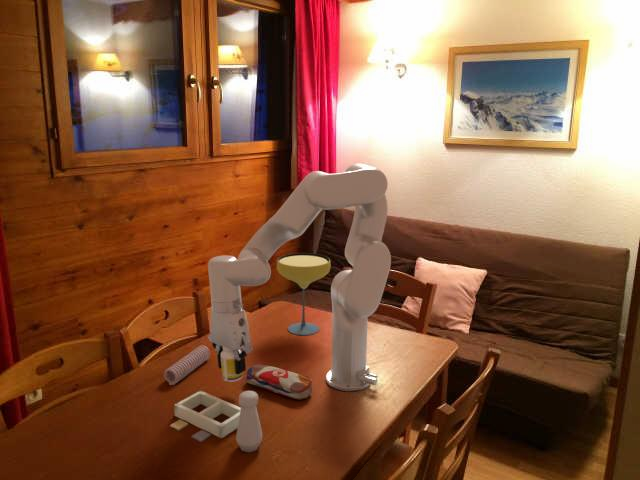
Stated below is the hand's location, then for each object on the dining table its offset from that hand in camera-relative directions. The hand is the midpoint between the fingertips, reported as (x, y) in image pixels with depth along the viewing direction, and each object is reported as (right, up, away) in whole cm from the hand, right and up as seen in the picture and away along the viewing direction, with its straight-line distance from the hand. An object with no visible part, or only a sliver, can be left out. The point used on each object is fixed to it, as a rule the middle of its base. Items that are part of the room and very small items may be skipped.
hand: (232, 368), depth 139 cm
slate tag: (-4, -11, -18) cm, 21 cm away
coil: (-15, -4, +14) cm, 21 cm away
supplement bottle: (0, -3, +1) cm, 3 cm away
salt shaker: (+7, -12, -21) cm, 25 cm away
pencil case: (+12, -7, +5) cm, 14 cm away
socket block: (-3, -10, -10) cm, 14 cm away
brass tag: (-10, -10, -13) cm, 20 cm away
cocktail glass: (+17, +3, +45) cm, 48 cm away
